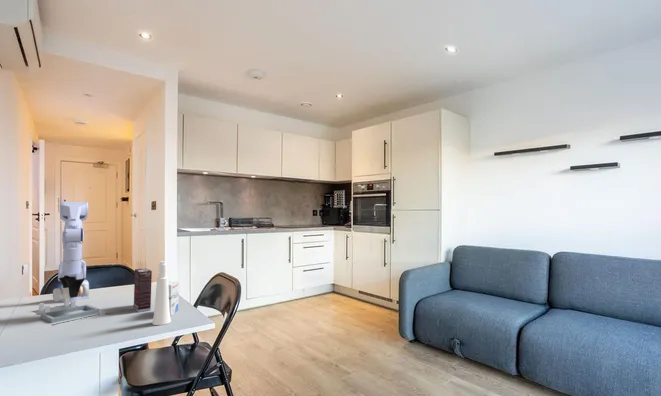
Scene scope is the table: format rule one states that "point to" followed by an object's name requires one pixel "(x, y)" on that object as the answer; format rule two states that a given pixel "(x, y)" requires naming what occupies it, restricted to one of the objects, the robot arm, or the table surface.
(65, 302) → the fuse holder
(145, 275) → the supplement box
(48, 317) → the tray
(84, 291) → the fuse
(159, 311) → the cosmetic bottle
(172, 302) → the ink box
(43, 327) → the table surface
